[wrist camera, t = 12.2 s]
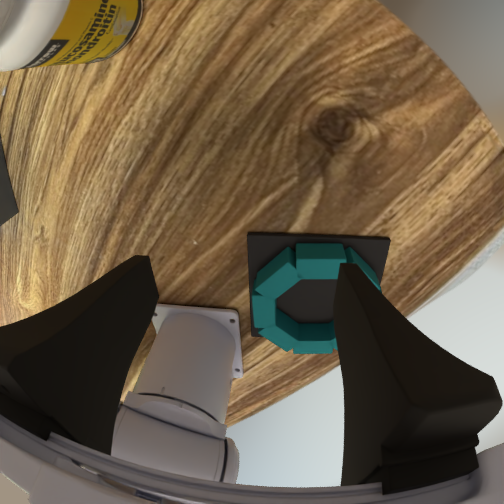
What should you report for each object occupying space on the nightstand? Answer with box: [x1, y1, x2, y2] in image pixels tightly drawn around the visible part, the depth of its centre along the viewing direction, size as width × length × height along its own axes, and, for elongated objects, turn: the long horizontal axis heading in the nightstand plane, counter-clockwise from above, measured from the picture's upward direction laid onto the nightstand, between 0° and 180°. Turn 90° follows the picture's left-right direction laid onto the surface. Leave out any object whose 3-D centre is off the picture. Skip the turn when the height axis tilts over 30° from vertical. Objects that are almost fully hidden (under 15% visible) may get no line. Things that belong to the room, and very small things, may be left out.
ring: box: [252, 243, 382, 354], centre depth 22 cm, size 9×9×2 cm
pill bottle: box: [0, 0, 143, 71], centre depth 8 cm, size 6×6×12 cm
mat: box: [247, 233, 391, 337], centre depth 23 cm, size 10×10×1 cm
